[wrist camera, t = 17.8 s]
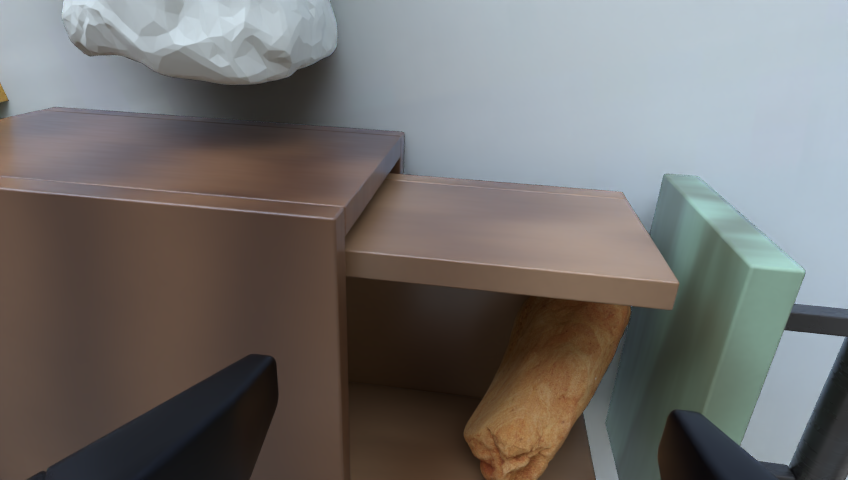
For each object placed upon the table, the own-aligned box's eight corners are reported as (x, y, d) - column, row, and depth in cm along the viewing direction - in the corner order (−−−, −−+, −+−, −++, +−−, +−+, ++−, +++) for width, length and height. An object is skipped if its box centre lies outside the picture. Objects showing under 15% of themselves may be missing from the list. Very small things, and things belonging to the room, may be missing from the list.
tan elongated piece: (692, 369, 16) (594, 269, 20) (675, 344, 15) (572, 241, 19) (507, 510, 17) (445, 391, 21) (474, 500, 16) (414, 374, 20)
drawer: (851, 187, 18) (1055, 293, 11) (751, 441, 22) (854, 623, 16) (323, 146, 20) (232, 217, 13) (332, 388, 24) (268, 529, 18)
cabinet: (404, 131, 20) (335, 218, 12) (398, 393, 25) (346, 581, 17) (54, 106, 22) (-222, 167, 13) (115, 357, 27) (-57, 513, 19)
